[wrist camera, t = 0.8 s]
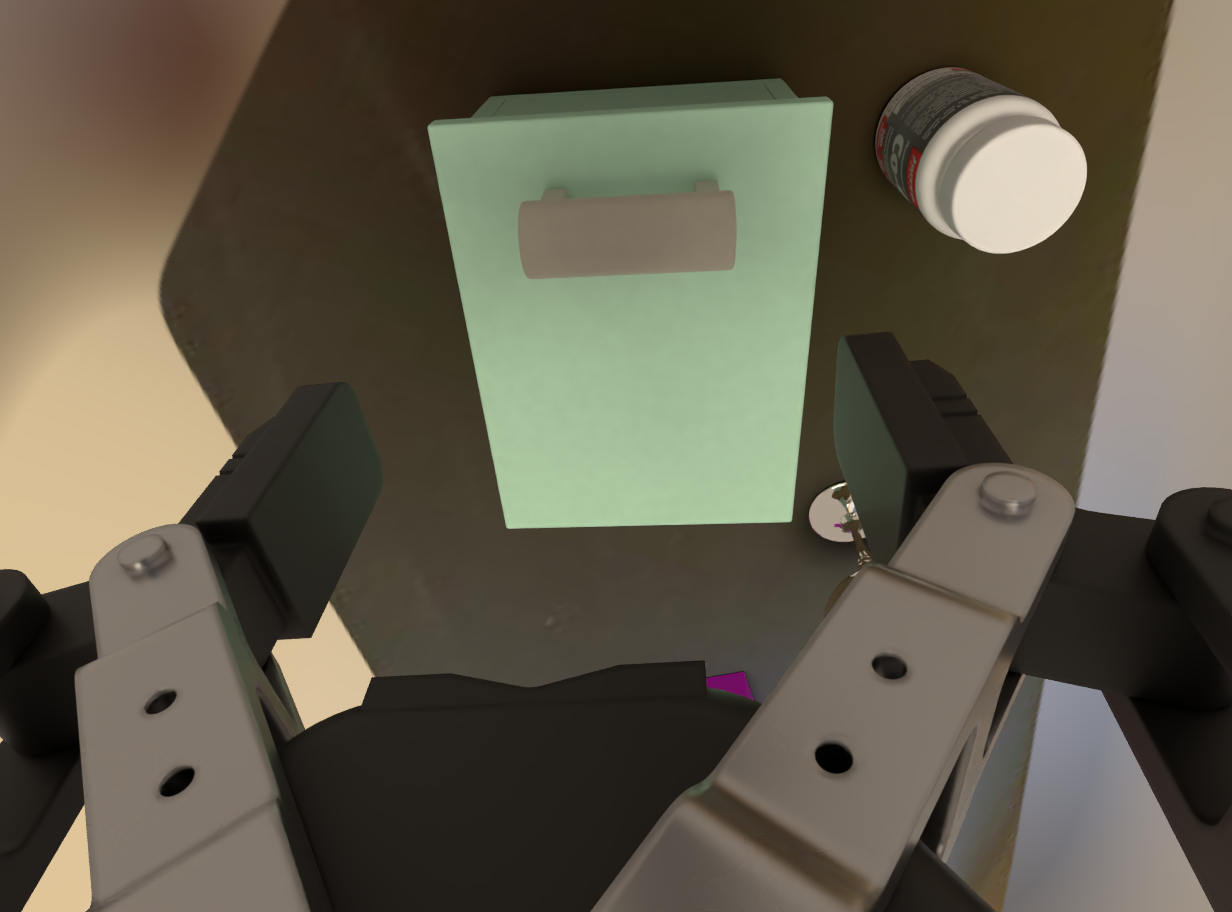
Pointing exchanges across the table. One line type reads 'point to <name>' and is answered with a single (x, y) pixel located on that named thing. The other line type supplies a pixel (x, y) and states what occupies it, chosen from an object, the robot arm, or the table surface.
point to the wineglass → (838, 528)
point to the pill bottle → (980, 160)
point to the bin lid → (639, 304)
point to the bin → (635, 97)
